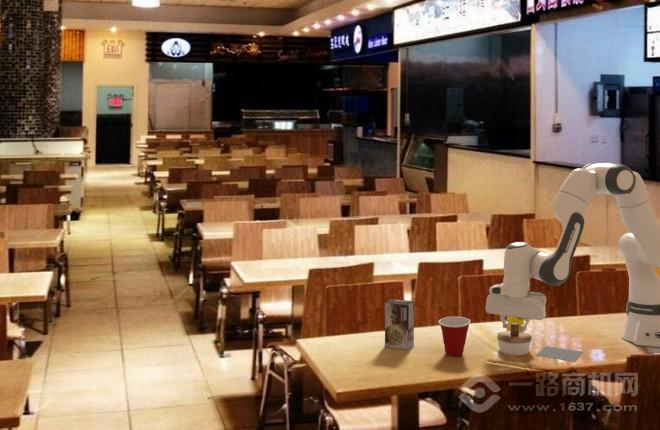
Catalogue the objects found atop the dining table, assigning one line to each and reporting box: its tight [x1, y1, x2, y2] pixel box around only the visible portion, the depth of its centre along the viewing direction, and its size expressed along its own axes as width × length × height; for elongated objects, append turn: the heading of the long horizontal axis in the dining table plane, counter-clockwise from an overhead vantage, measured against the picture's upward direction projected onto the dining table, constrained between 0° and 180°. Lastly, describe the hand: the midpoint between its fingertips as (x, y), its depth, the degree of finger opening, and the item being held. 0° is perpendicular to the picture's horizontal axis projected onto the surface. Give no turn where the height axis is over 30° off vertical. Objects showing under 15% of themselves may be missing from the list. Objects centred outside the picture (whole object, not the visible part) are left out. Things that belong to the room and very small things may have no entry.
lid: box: [497, 323, 533, 343], centre depth 264 cm, size 12×12×5 cm
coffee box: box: [384, 298, 415, 350], centre depth 270 cm, size 9×6×16 cm
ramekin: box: [497, 338, 532, 356], centre depth 265 cm, size 11×11×5 cm
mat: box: [535, 345, 584, 363], centre depth 262 cm, size 13×13×1 cm
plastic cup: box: [438, 316, 471, 357], centre depth 262 cm, size 11×11×12 cm
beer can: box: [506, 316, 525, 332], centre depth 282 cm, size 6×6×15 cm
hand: (514, 329), depth 264 cm, fingers open, 5 cm apart
